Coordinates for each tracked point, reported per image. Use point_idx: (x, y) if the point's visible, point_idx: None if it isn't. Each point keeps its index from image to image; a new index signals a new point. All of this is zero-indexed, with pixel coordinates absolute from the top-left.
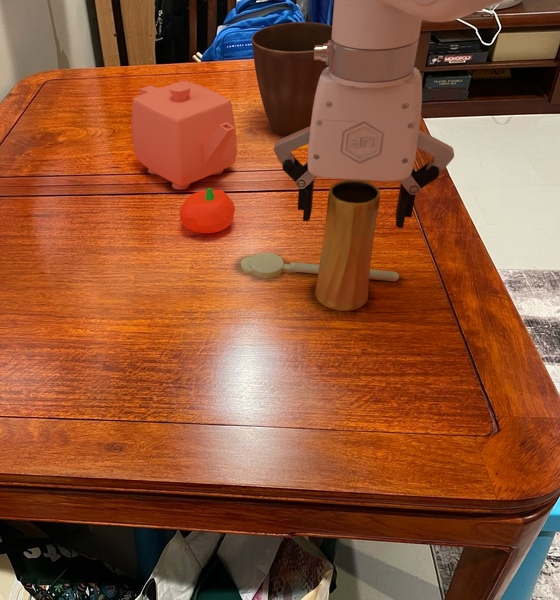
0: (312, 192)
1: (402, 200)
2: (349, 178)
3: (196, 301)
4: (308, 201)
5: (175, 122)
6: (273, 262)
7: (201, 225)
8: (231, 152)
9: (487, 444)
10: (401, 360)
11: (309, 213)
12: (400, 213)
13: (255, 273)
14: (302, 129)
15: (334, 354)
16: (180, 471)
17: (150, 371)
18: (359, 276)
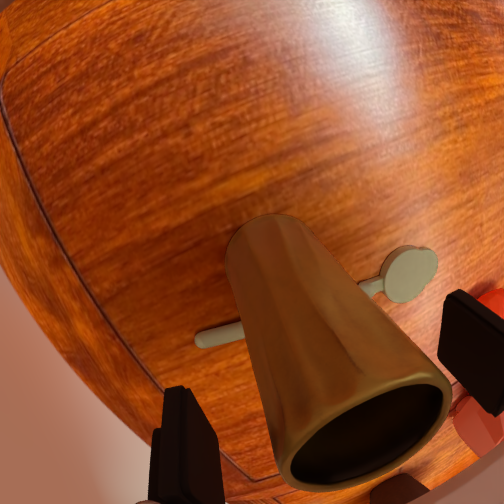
0: (481, 373)
1: (180, 474)
2: (488, 468)
3: (462, 153)
4: (496, 326)
5: None
6: (399, 282)
7: (496, 295)
8: (465, 426)
9: (6, 60)
10: (122, 140)
11: (462, 309)
12: (179, 427)
13: (415, 247)
14: (383, 489)
15: (233, 100)
16: None
17: (444, 10)
18: (248, 264)
